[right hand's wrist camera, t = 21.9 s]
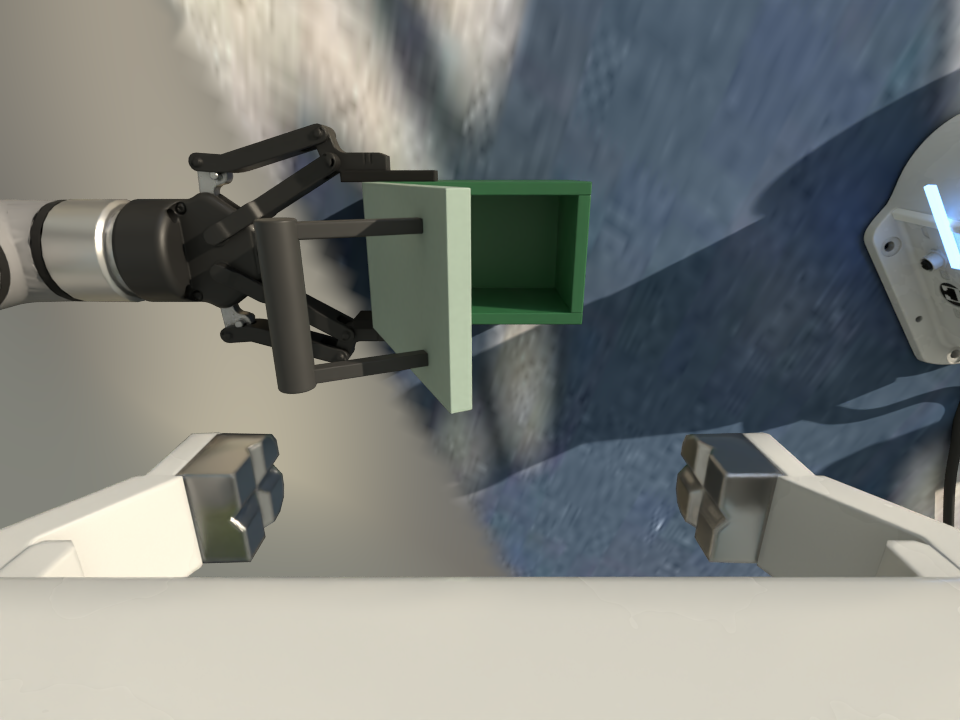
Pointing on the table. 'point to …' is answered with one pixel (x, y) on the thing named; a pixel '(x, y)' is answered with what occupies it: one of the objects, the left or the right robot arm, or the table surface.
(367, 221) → the lid
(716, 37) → the table surface
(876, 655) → the right robot arm
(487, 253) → the chest
